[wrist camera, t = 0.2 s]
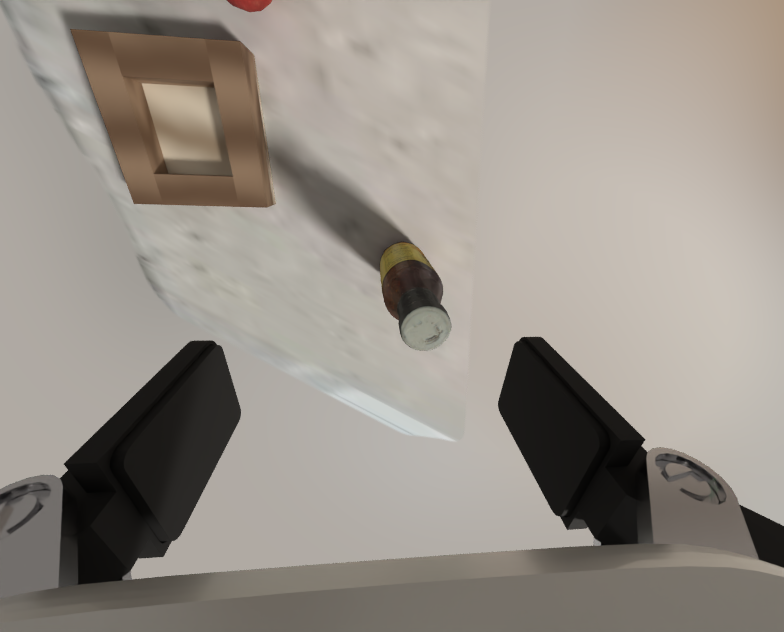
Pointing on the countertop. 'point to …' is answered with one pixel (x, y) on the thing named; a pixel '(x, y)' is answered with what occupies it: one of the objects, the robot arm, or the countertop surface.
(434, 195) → the countertop surface
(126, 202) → the countertop surface
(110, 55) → the open box
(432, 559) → the robot arm
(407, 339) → the sauce bottle
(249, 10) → the onion
